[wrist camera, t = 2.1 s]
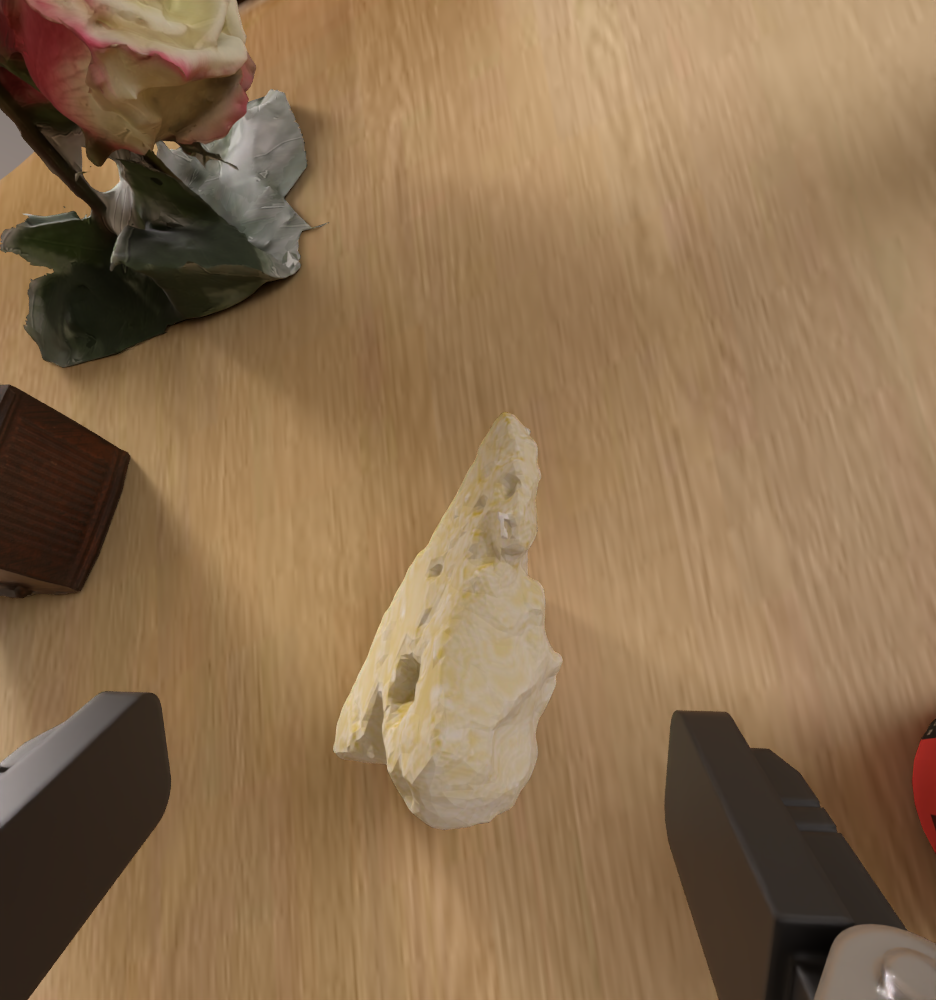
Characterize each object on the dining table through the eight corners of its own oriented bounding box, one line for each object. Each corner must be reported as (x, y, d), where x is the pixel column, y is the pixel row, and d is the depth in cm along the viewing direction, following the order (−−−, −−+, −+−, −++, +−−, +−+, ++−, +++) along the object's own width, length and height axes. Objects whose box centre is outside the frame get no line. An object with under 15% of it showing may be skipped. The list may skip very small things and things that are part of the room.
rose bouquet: (362, 259, 44) (-117, -485, 18) (33, 393, 50) (-688, -17, 24) (332, 50, 55) (10, -598, 29) (65, 180, 61) (-401, -259, 35)
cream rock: (458, 879, 29) (697, 803, 20) (308, 856, 27) (498, 755, 17) (467, 599, 40) (629, 455, 30) (359, 562, 37) (497, 390, 27)
